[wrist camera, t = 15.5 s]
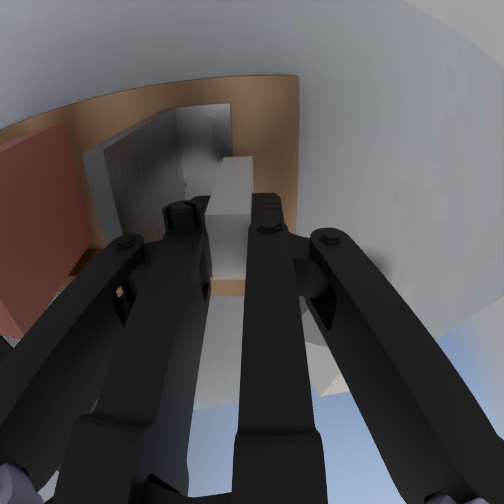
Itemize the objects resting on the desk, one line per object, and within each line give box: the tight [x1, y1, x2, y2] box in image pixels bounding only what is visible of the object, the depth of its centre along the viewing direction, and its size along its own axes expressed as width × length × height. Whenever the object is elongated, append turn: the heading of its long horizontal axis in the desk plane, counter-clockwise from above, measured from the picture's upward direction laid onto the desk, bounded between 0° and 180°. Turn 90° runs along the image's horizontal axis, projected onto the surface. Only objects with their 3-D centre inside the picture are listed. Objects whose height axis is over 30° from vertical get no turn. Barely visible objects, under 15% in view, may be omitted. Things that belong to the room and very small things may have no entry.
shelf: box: [0, 75, 299, 296], centre depth 16 cm, size 30×12×6 cm, turn 92°
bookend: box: [82, 103, 233, 292], centre depth 14 cm, size 4×8×9 cm, turn 2°
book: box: [0, 121, 95, 339], centre depth 14 cm, size 5×9×10 cm, turn 2°
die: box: [299, 296, 350, 397], centre depth 21 cm, size 8×9×10 cm
